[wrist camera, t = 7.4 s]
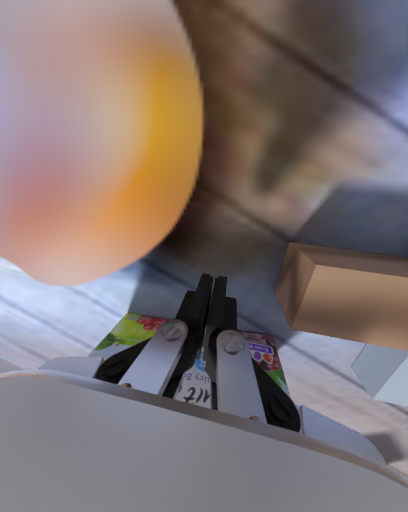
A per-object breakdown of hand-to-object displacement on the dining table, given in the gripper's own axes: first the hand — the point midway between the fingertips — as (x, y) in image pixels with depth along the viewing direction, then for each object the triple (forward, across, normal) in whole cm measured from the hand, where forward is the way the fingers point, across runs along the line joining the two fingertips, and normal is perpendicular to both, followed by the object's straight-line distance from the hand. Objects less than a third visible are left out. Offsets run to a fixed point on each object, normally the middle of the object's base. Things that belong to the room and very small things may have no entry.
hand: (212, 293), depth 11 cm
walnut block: (+8, -13, +1) cm, 15 cm away
